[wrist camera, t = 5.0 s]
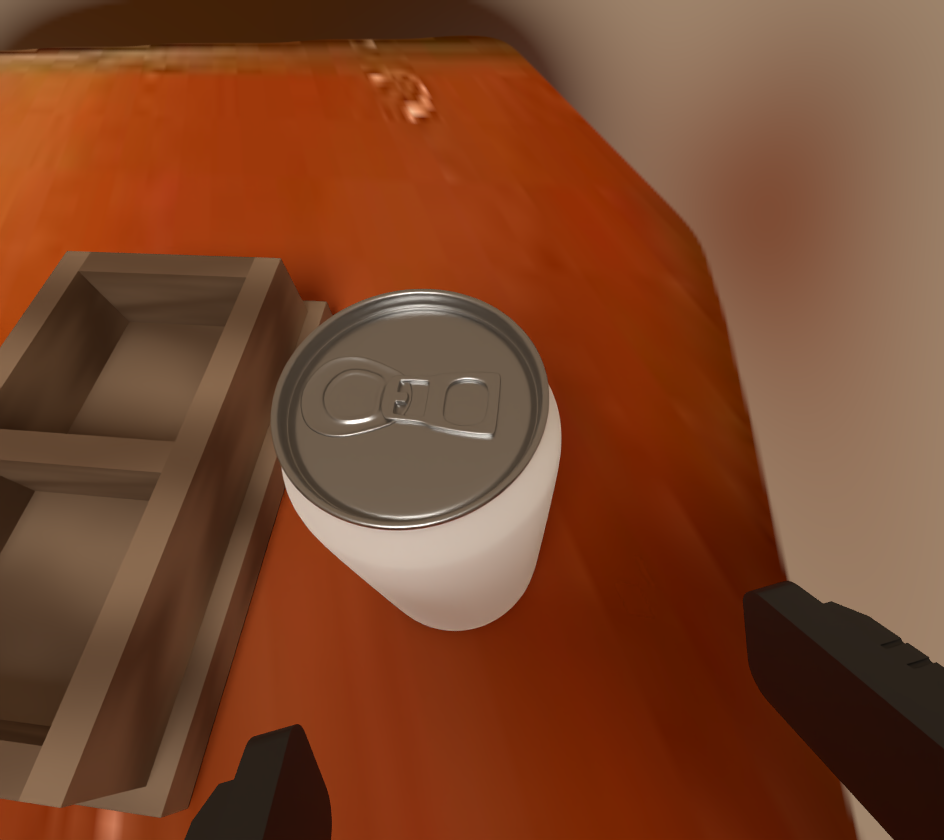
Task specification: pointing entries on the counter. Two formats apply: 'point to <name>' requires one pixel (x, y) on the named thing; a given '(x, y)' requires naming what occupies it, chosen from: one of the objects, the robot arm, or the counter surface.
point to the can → (422, 451)
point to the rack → (134, 515)
